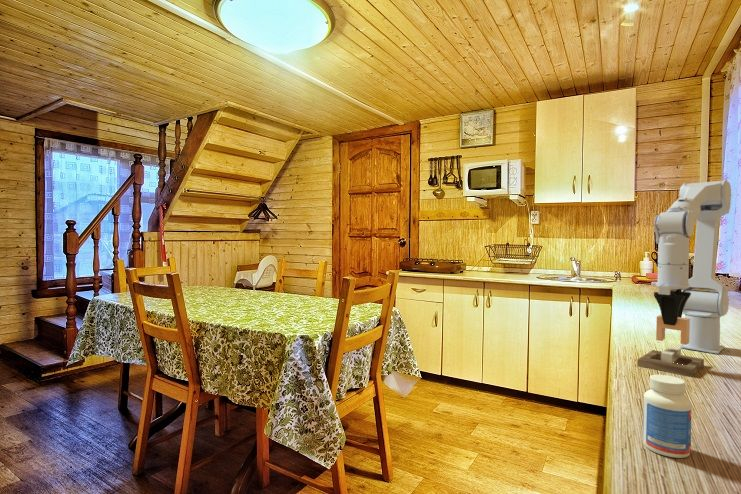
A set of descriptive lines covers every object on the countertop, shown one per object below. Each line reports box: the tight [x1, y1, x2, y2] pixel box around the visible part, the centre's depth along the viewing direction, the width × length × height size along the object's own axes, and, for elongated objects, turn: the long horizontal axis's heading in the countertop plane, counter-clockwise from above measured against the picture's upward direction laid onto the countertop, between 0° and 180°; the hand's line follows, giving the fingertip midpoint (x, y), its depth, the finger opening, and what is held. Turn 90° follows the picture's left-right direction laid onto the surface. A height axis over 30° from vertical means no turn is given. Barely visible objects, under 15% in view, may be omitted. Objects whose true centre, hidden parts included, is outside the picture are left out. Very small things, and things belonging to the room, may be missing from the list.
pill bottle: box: [642, 374, 692, 459], centre depth 57 cm, size 6×5×10 cm
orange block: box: [655, 314, 690, 345], centre depth 95 cm, size 3×6×6 cm, turn 42°
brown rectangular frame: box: [637, 346, 705, 378], centre depth 95 cm, size 12×10×4 cm
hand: (671, 323), depth 95 cm, fingers closed on orange block, 3 cm apart
